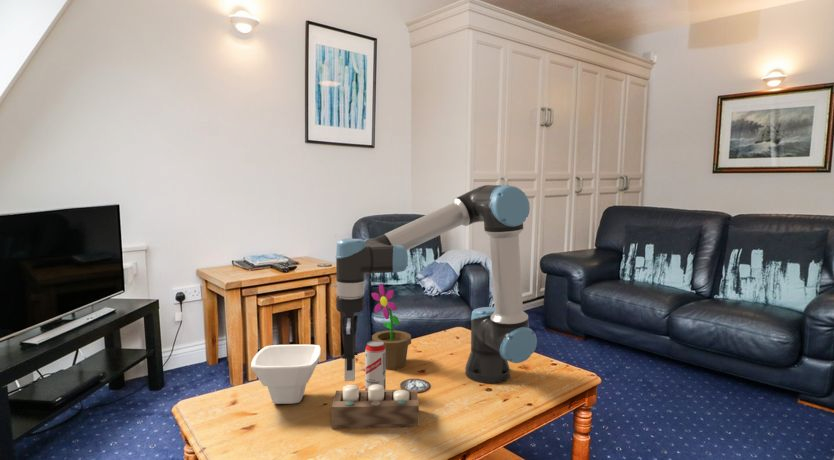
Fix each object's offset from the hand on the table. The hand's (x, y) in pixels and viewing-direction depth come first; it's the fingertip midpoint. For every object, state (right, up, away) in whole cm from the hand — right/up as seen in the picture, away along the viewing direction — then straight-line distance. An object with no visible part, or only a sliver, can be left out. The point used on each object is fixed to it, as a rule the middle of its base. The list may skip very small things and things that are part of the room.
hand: (349, 379), depth 132 cm
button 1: (0, -7, +1) cm, 7 cm away
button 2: (+14, -9, +2) cm, 17 cm away
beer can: (+6, -10, +16) cm, 20 cm away
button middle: (+7, -7, +1) cm, 10 cm away
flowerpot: (+9, -7, +40) cm, 42 cm away
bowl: (-20, -10, +12) cm, 25 cm away
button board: (+7, -11, +1) cm, 13 cm away
